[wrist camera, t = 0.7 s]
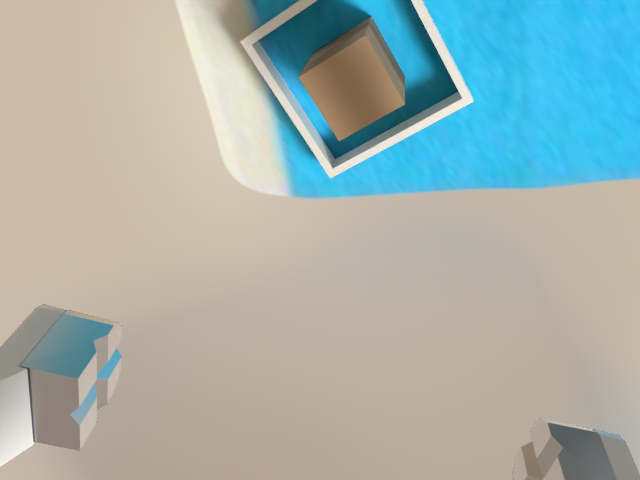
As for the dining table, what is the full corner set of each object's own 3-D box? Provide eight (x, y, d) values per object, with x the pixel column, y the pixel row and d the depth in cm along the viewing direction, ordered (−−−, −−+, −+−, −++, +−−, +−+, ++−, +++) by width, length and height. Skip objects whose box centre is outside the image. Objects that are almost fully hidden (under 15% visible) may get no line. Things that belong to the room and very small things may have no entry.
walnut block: (371, 15, 41) (365, 35, 35) (404, 76, 43) (405, 104, 37) (313, 52, 43) (298, 77, 37) (347, 109, 45) (339, 141, 39)
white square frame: (390, -63, 39) (390, -61, 37) (471, 93, 43) (473, 101, 42) (246, 36, 43) (240, 41, 41) (332, 168, 48) (330, 178, 46)
